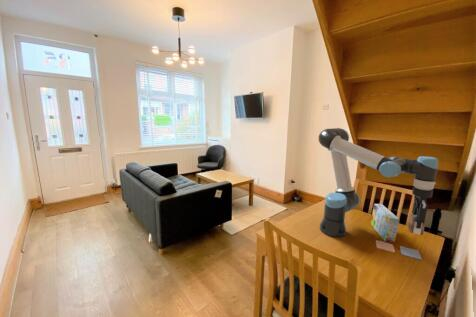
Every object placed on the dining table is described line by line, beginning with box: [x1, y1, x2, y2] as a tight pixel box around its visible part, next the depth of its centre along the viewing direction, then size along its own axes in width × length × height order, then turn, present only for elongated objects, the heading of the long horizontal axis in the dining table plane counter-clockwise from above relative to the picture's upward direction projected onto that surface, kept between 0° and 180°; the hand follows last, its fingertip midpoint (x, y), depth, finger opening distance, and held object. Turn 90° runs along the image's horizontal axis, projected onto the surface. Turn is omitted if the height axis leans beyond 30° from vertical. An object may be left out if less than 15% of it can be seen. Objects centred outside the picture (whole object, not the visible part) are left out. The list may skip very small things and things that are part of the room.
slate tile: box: [399, 245, 423, 261], centre depth 109 cm, size 8×8×1 cm
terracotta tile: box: [375, 239, 396, 253], centre depth 114 cm, size 8×8×1 cm
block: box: [407, 213, 427, 236], centre depth 106 cm, size 5×5×8 cm
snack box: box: [370, 203, 400, 244], centre depth 127 cm, size 21×6×15 cm, turn 168°
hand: (415, 230), depth 106 cm, fingers closed on block, 5 cm apart
